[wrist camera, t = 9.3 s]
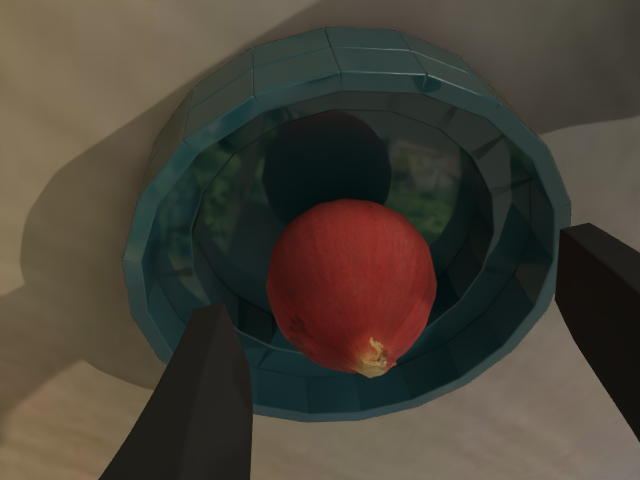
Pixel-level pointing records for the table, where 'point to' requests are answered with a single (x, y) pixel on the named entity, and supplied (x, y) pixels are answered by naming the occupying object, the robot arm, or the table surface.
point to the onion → (351, 285)
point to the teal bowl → (354, 183)
